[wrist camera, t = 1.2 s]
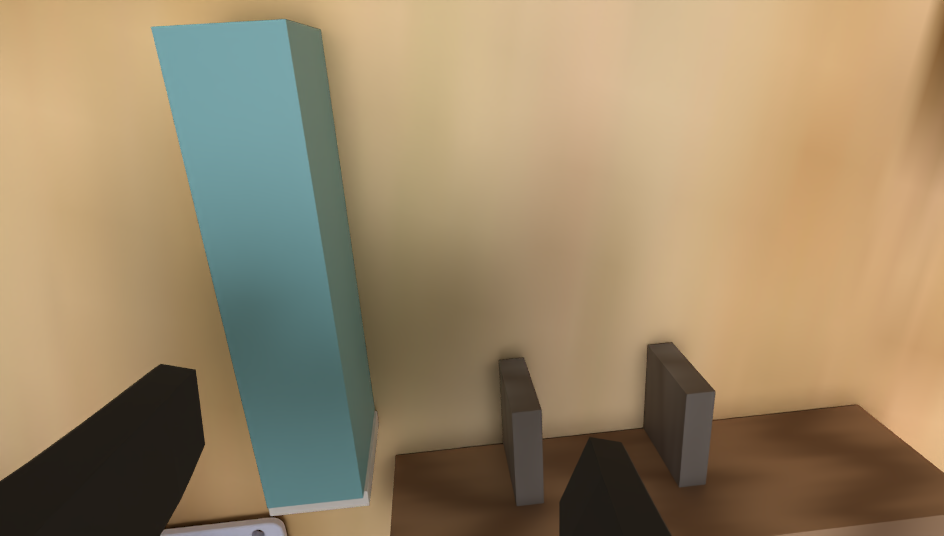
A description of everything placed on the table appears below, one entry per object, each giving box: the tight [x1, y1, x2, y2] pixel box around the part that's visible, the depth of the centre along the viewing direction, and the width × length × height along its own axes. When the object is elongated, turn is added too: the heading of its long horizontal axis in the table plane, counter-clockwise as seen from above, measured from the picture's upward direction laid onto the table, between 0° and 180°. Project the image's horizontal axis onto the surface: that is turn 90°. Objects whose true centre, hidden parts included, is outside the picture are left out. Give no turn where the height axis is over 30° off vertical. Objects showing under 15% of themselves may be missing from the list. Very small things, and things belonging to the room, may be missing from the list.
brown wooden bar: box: [390, 343, 944, 536], centre depth 20 cm, size 20×6×6 cm, turn 94°
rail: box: [151, 19, 379, 516], centre depth 18 cm, size 3×15×5 cm, turn 3°
